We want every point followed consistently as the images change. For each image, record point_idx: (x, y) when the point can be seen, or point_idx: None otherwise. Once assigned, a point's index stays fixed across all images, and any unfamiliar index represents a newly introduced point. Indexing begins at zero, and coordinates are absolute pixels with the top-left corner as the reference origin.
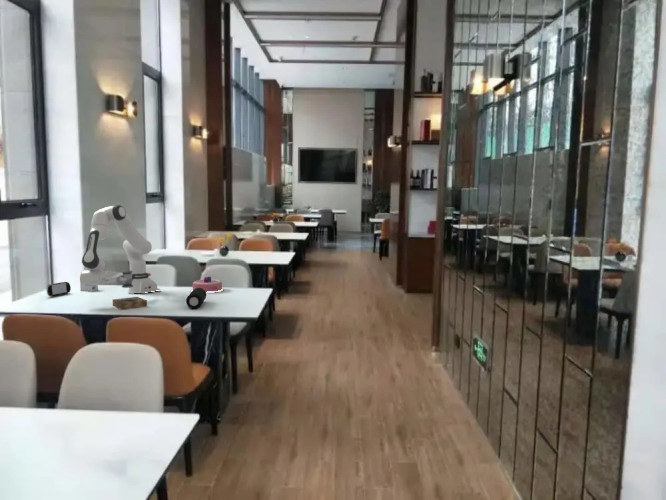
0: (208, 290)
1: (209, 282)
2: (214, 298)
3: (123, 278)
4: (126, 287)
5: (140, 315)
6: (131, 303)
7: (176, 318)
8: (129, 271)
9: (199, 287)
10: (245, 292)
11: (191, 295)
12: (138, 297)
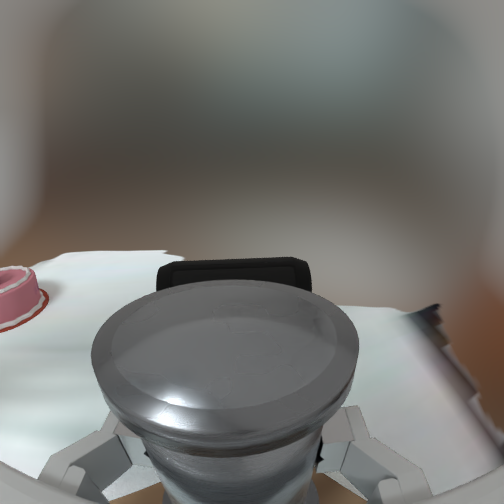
0: (36, 298)
1: (4, 279)
2: (125, 295)
3: (372, 444)
4: (315, 494)
5: (460, 393)
6: (345, 493)
7: (430, 310)
8: (259, 297)
9: (16, 301)
10: (78, 267)
11: (306, 265)
12: (142, 494)
